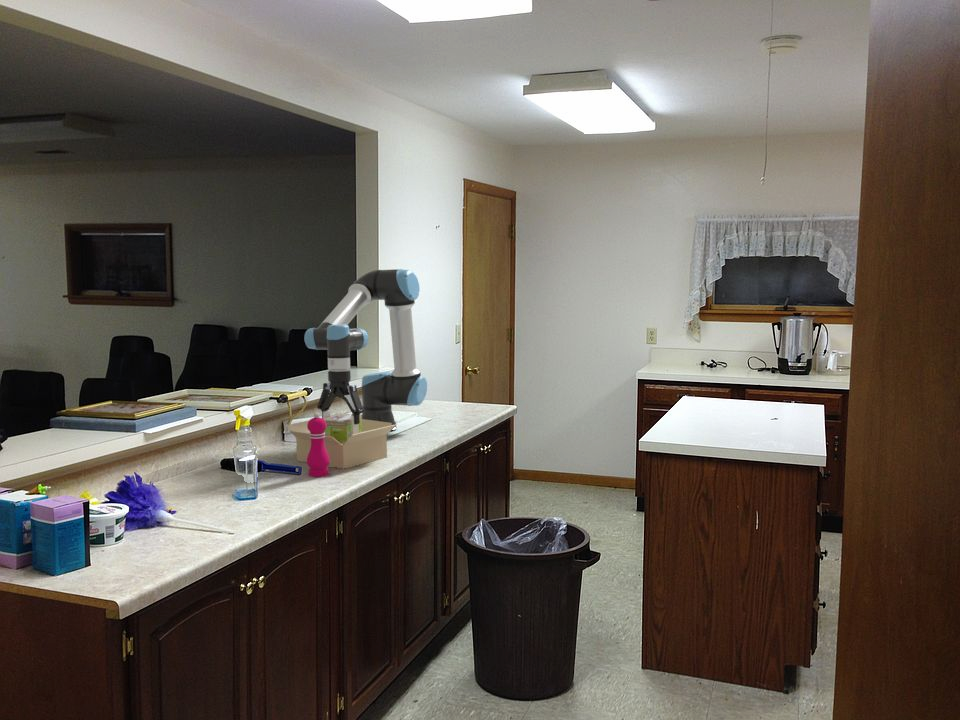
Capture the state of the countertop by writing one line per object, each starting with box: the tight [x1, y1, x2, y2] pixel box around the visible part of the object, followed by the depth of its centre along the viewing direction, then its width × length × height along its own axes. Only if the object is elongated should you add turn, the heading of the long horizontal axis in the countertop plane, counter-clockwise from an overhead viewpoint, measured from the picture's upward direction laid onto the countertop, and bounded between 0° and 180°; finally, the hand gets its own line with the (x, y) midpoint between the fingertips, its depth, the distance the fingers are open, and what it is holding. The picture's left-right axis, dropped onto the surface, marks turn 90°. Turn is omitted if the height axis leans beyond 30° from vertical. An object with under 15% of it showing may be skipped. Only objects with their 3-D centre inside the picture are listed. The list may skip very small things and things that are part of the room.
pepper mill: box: [306, 412, 330, 478], centre depth 266 cm, size 7×7×20 cm
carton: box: [286, 419, 397, 470], centre depth 288 cm, size 28×32×12 cm
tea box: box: [324, 413, 362, 444], centre depth 288 cm, size 15×10×15 cm
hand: (340, 431), depth 288 cm, fingers open, 13 cm apart
